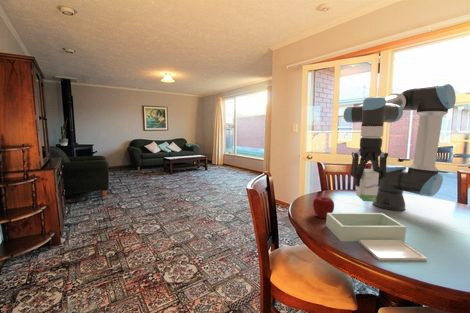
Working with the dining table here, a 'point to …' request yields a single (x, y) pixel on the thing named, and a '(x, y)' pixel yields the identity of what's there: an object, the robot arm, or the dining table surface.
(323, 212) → the apple
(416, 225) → the dining table surface
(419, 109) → the robot arm
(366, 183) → the ink box
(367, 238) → the box
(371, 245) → the tray
